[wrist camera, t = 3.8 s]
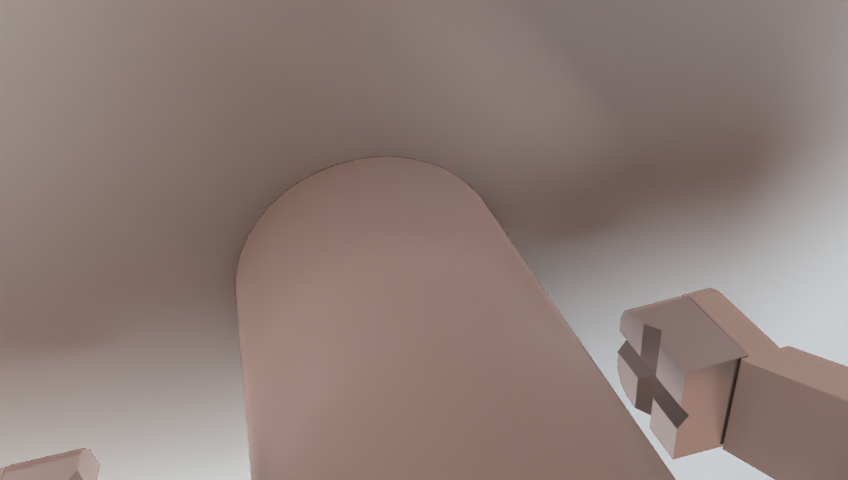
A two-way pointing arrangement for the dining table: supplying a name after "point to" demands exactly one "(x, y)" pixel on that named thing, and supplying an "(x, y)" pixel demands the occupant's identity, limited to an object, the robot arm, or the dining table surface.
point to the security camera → (414, 342)
